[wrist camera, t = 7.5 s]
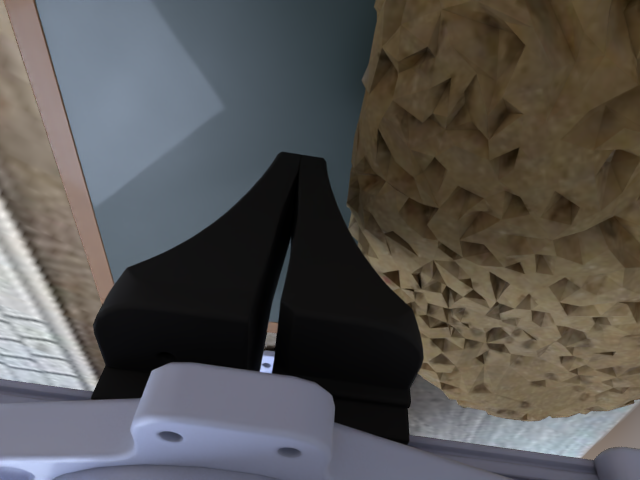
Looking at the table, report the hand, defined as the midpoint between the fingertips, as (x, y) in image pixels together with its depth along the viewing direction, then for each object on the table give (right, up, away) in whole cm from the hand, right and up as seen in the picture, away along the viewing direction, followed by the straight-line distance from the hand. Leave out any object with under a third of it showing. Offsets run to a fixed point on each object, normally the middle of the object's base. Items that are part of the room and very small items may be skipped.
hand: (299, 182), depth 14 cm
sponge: (+8, +1, +3) cm, 9 cm away
